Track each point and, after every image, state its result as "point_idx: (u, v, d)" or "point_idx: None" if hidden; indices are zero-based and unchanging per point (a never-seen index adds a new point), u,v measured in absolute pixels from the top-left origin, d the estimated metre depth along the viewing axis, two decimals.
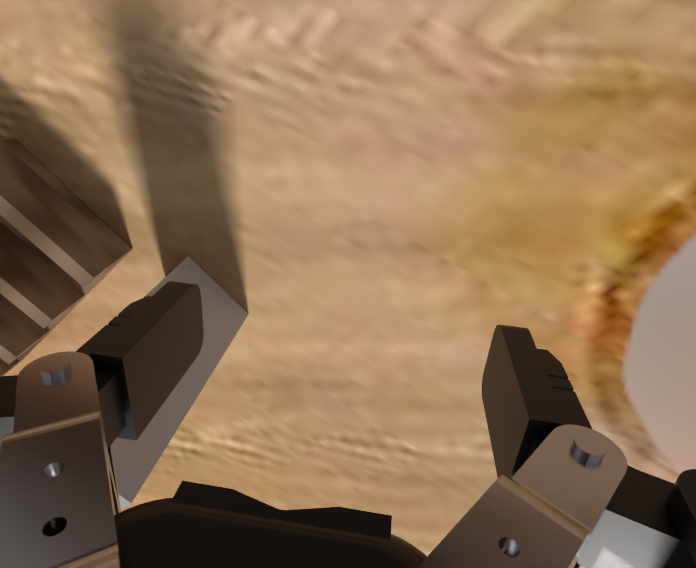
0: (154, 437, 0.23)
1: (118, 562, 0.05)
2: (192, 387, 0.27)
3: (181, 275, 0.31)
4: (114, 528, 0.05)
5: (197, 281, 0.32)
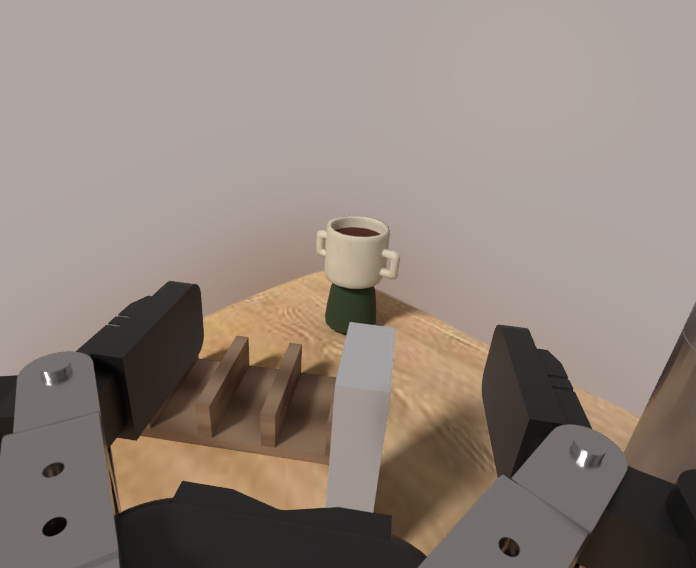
0: None
1: (118, 562, 0.05)
2: None
3: None
4: (114, 528, 0.05)
5: None
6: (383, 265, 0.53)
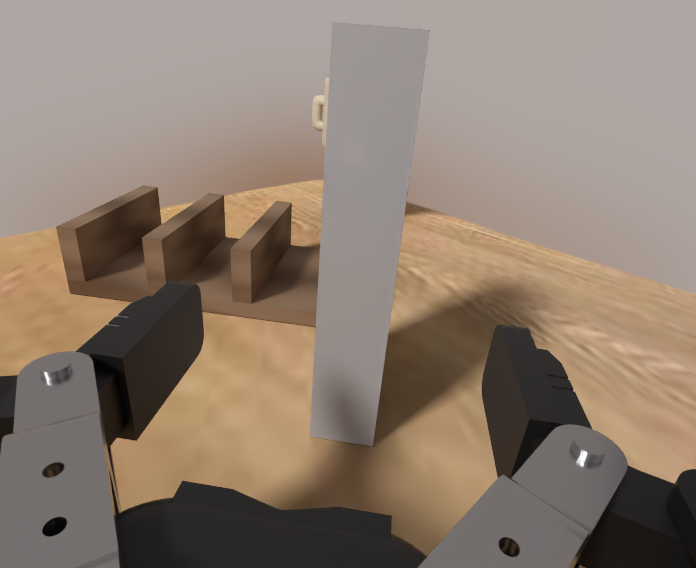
0: None
1: (118, 561, 0.05)
2: None
3: None
4: (114, 527, 0.05)
5: None
6: None
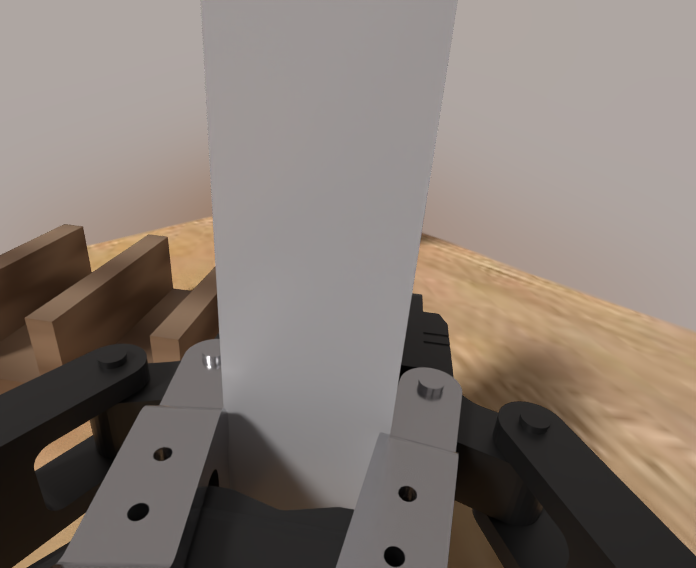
0: None
1: None
2: None
3: None
4: (180, 538, 0.05)
5: None
6: None
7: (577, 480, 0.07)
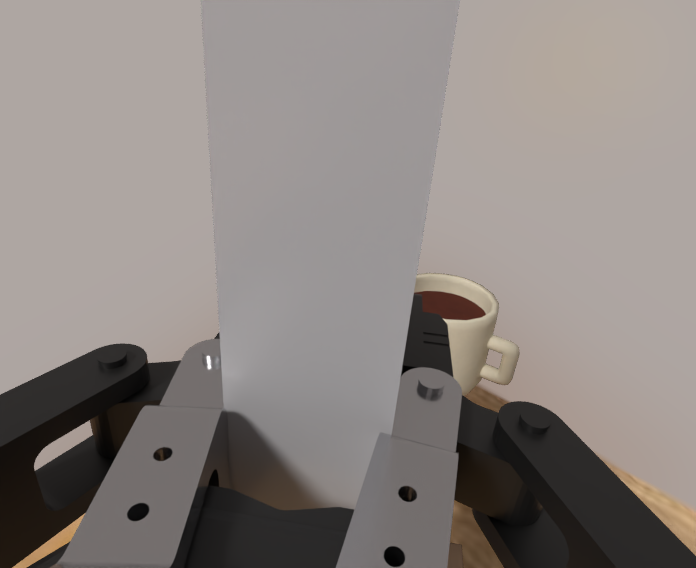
0: None
1: None
2: None
3: None
4: (179, 538, 0.05)
5: None
6: (485, 359, 0.32)
7: (577, 480, 0.07)
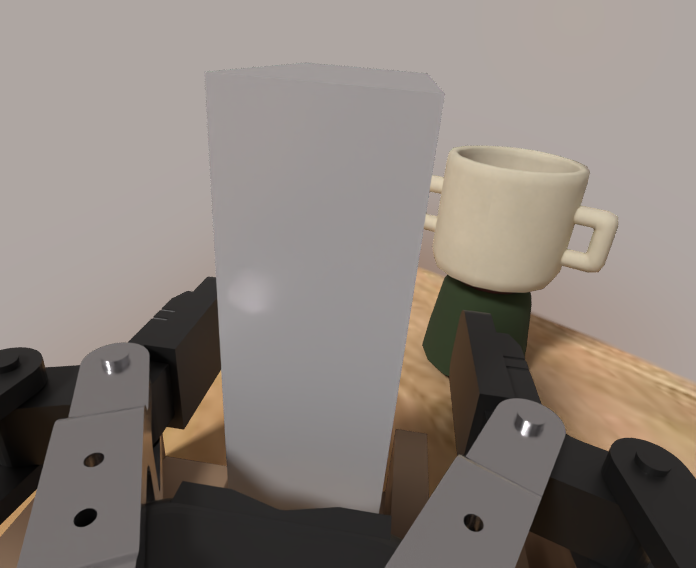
0: None
1: (135, 565, 0.05)
2: None
3: None
4: (139, 528, 0.05)
5: None
6: None
7: (692, 533, 0.07)
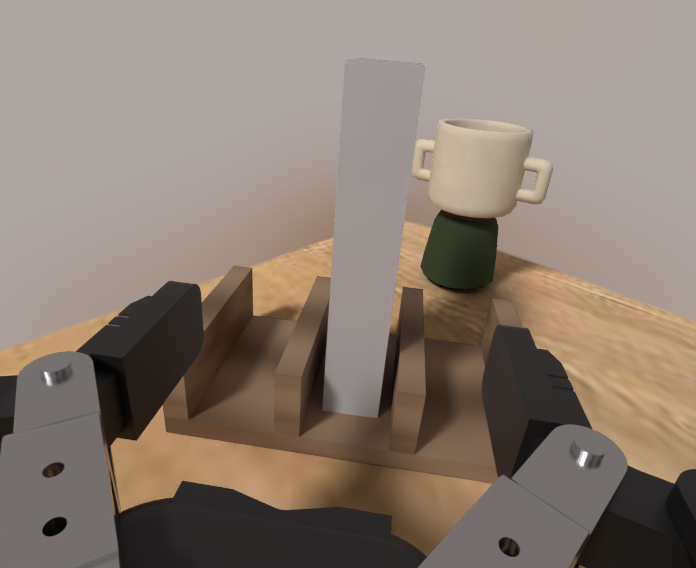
0: None
1: (118, 561, 0.05)
2: None
3: None
4: (114, 528, 0.05)
5: None
6: None
7: None
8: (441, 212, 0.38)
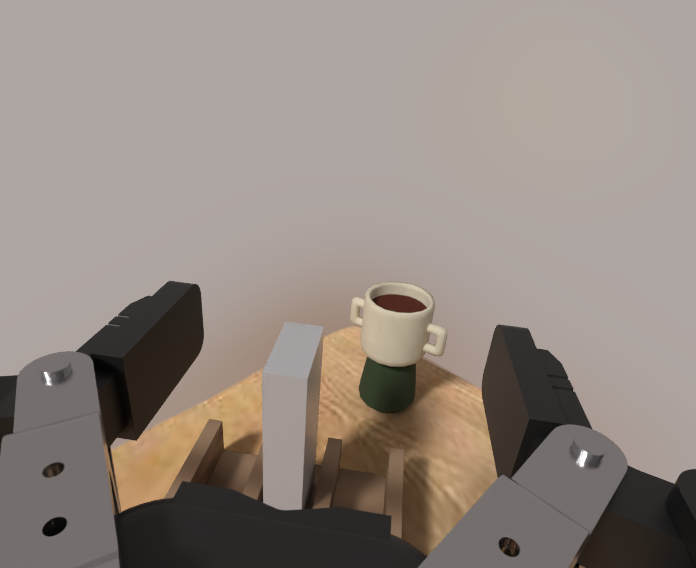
0: (307, 411, 0.30)
1: (118, 562, 0.05)
2: (305, 458, 0.32)
3: (314, 471, 0.39)
4: (114, 528, 0.05)
5: (311, 487, 0.39)
6: (427, 340, 0.47)
7: None
8: None
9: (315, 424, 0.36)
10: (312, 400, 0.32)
